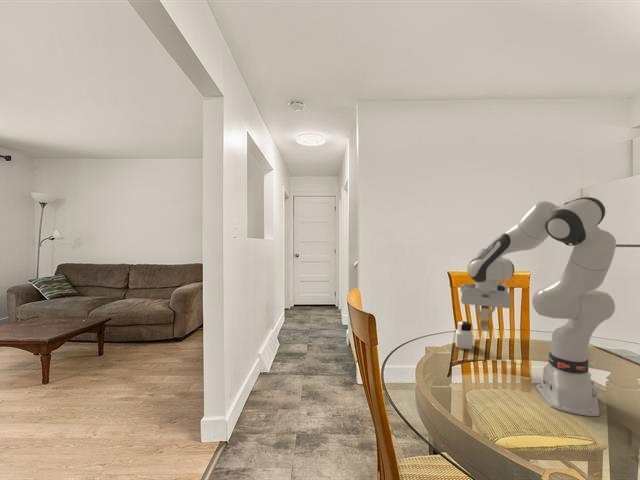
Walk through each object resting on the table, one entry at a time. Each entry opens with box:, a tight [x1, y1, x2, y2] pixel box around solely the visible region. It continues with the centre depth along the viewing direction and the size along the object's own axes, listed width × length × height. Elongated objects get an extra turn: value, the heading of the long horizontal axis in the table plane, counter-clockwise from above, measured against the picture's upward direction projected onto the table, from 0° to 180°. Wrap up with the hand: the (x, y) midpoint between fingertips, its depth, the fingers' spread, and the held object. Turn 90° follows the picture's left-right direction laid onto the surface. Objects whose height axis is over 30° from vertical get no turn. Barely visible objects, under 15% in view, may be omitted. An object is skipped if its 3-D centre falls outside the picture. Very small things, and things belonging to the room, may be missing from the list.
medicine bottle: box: [455, 320, 474, 350], centre depth 181 cm, size 7×7×12 cm
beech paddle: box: [479, 294, 490, 332], centre depth 165 cm, size 6×3×16 cm, turn 157°
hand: (484, 315), depth 165 cm, fingers closed on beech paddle, 3 cm apart
